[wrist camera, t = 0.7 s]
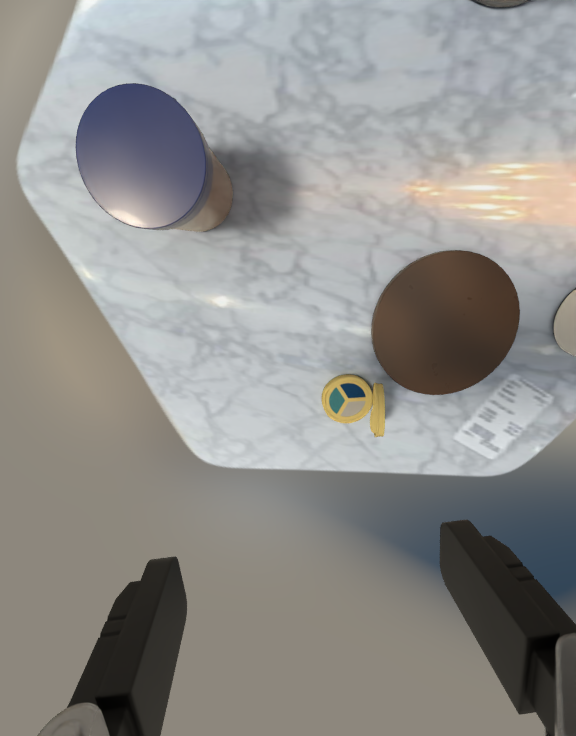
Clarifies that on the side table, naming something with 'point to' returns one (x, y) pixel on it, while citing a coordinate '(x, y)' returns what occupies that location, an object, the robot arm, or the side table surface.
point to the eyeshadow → (354, 401)
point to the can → (566, 324)
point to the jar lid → (143, 157)
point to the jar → (213, 201)
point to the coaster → (445, 322)
